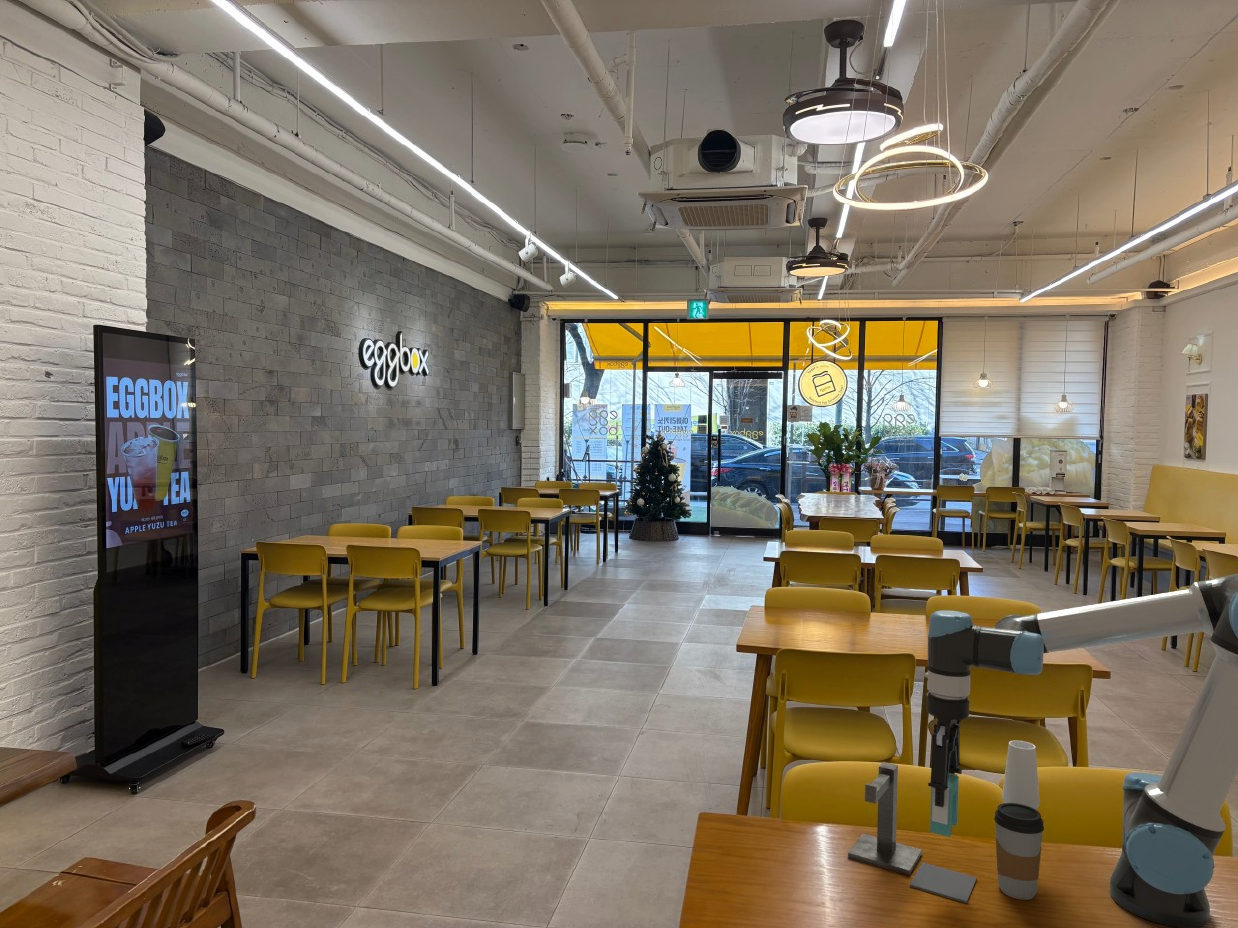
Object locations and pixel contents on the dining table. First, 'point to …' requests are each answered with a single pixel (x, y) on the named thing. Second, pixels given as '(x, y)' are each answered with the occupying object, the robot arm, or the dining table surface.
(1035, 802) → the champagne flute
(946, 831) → the u-shaped block
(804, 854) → the dining table surface
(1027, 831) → the coffee cup
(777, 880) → the dining table surface
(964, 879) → the mat
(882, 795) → the stand
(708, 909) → the dining table surface
